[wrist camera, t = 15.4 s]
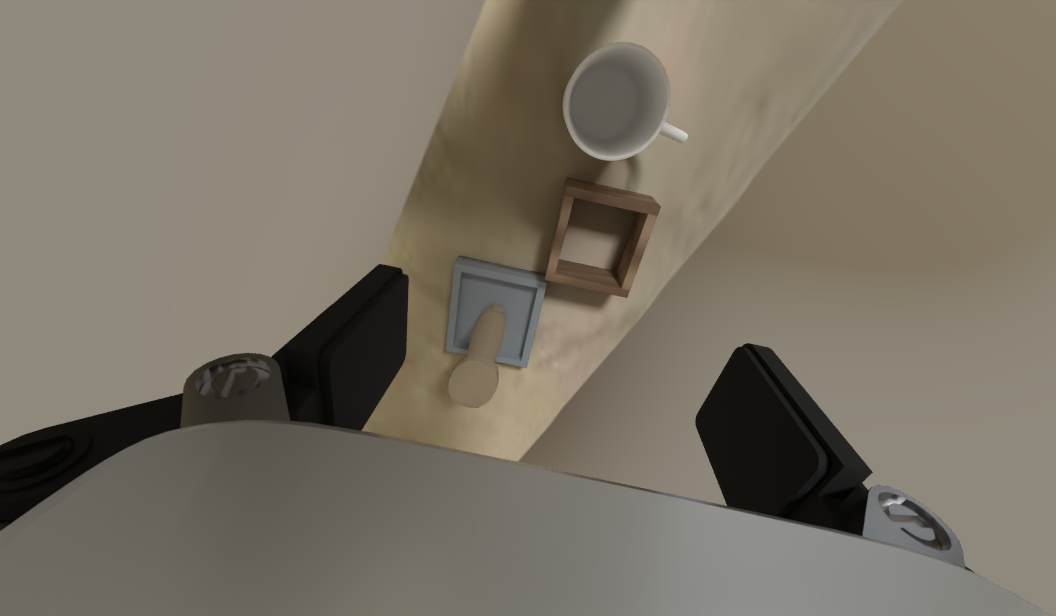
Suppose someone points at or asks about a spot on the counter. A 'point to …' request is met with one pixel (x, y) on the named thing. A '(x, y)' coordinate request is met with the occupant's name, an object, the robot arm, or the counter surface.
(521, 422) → the counter surface
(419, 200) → the counter surface
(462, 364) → the handle
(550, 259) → the holder
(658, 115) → the mug
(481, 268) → the tray
